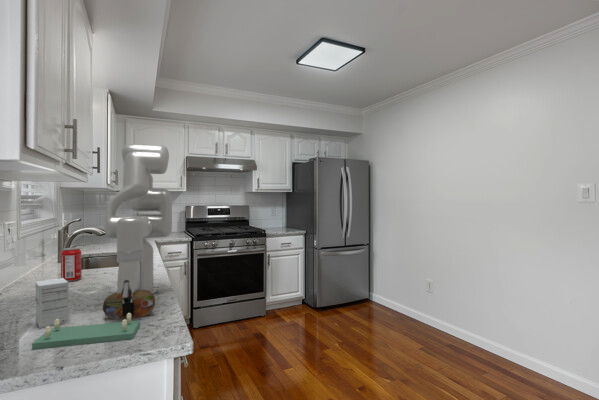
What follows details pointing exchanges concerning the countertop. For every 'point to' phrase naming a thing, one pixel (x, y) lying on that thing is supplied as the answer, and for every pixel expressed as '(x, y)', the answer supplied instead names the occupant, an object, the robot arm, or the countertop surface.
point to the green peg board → (86, 333)
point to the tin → (142, 304)
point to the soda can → (71, 264)
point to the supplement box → (51, 302)
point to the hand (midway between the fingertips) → (130, 312)
